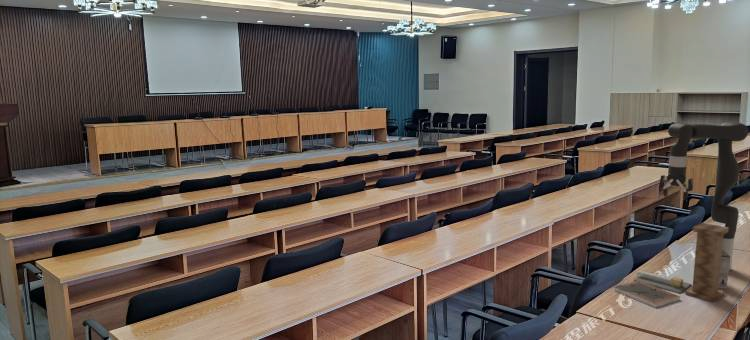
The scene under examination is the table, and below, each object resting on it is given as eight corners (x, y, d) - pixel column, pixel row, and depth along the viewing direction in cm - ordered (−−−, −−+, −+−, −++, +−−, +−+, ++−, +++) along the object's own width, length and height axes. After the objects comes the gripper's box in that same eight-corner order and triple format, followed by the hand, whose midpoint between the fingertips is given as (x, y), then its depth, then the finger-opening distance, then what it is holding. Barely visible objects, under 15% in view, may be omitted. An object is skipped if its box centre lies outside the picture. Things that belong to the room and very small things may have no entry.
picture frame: (613, 291, 254) (655, 309, 235) (614, 286, 254) (655, 303, 235) (638, 284, 261) (679, 301, 242) (638, 279, 261) (680, 295, 242)
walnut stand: (685, 294, 247) (691, 227, 242) (695, 286, 255) (701, 221, 249) (714, 302, 238) (721, 233, 233) (724, 294, 246) (730, 227, 240)
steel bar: (636, 276, 268) (636, 270, 267) (639, 274, 270) (640, 268, 269) (679, 288, 253) (680, 281, 252) (682, 285, 255) (683, 278, 255)
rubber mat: (633, 280, 264) (633, 279, 264) (646, 273, 273) (646, 272, 273) (679, 293, 248) (679, 292, 248) (691, 285, 257) (691, 283, 257)
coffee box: (705, 280, 263) (708, 248, 260) (719, 281, 261) (722, 249, 258) (712, 287, 254) (715, 255, 251) (727, 288, 252) (731, 256, 249)
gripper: (696, 165, 256) (693, 198, 259) (665, 162, 267) (662, 194, 270) (690, 167, 251) (687, 201, 254) (658, 164, 262) (656, 196, 265)
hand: (674, 197), depth 262 cm, fingers open, 8 cm apart
